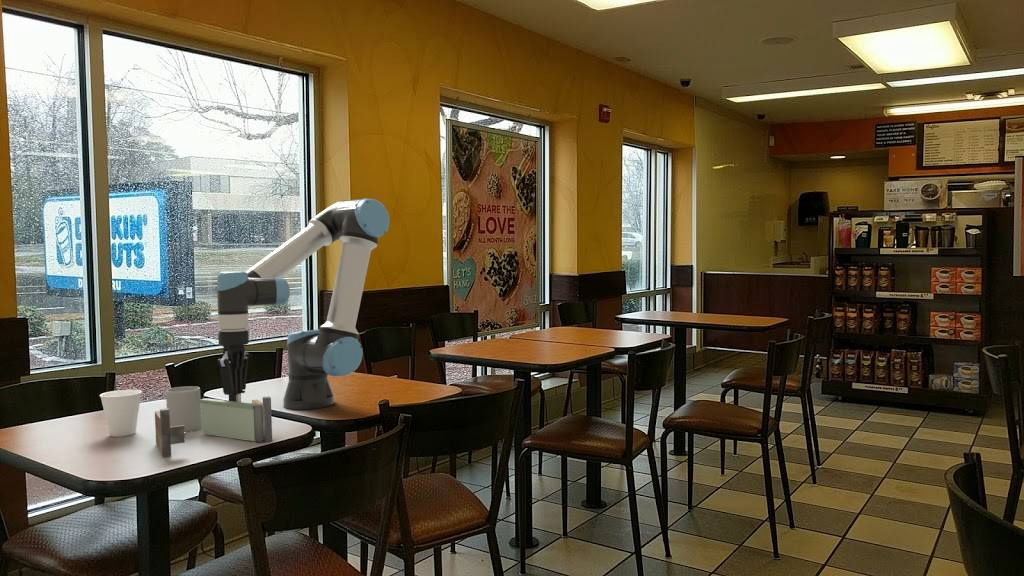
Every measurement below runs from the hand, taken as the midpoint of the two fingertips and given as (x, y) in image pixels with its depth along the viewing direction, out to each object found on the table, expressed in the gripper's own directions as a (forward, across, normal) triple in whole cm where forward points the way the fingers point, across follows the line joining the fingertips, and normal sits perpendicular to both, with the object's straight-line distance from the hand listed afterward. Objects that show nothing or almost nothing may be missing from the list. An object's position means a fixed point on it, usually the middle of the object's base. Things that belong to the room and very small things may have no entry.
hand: (235, 418), depth 200 cm
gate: (+3, +7, +3) cm, 9 cm away
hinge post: (+3, +5, +10) cm, 11 cm away
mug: (+4, -2, -16) cm, 17 cm away
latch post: (+4, +19, -7) cm, 21 cm away
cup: (+4, +6, -29) cm, 30 cm away
